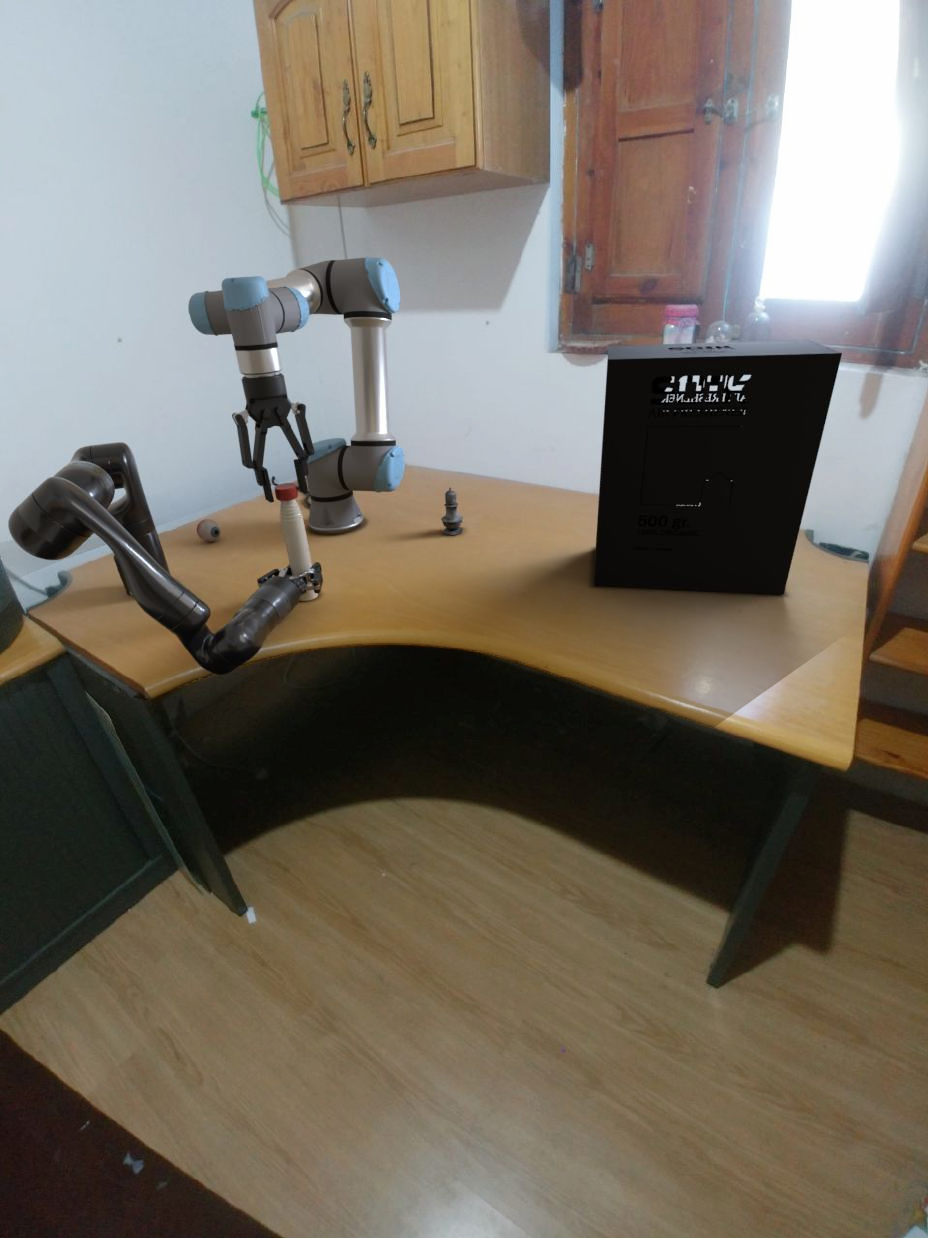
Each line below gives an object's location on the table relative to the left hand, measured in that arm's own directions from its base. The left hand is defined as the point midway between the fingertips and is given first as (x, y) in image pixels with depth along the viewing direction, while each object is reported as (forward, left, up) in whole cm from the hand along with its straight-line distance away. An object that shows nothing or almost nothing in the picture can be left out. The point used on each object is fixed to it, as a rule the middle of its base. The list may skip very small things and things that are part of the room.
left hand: (307, 565), depth 132 cm
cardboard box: (+81, +17, -6) cm, 83 cm away
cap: (0, -3, +18) cm, 19 cm away
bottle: (0, -3, -6) cm, 7 cm away
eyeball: (-40, +25, -6) cm, 48 cm away
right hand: (0, -3, +17) cm, 17 cm away
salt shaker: (+25, +36, -6) cm, 44 cm away
